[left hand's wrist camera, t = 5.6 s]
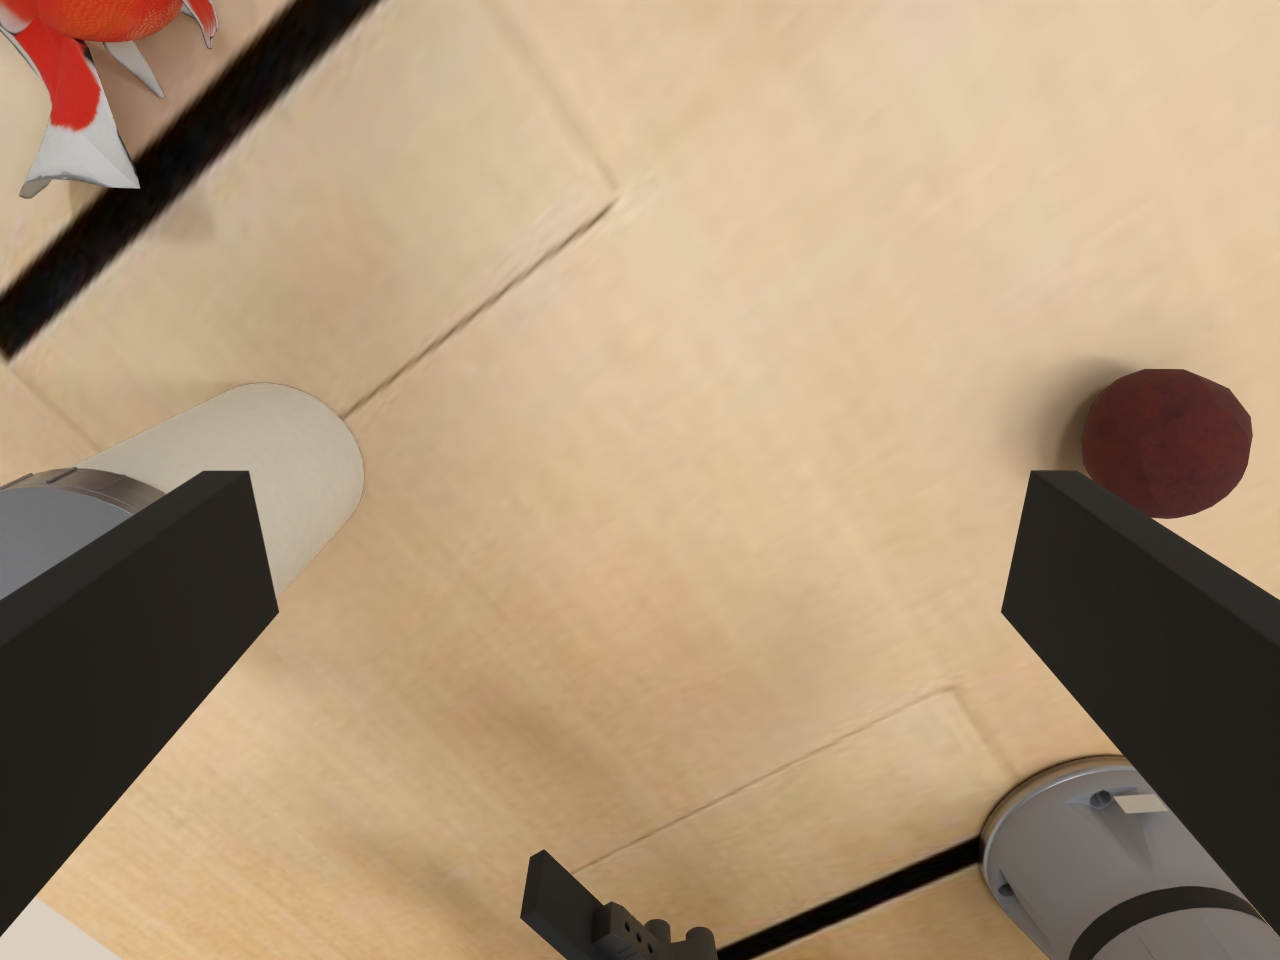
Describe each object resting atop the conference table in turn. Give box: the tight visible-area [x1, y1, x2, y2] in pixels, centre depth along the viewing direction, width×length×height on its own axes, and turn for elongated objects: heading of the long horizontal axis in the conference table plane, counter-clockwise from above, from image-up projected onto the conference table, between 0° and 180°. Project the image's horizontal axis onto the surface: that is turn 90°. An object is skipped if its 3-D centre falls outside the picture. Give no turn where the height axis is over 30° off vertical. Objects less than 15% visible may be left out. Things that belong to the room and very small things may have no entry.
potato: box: [1082, 369, 1253, 519], centre depth 37 cm, size 7×8×7 cm
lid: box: [0, 467, 166, 600], centre depth 28 cm, size 10×10×2 cm
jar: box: [69, 383, 364, 600], centre depth 35 cm, size 10×10×16 cm
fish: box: [0, 0, 219, 199], centre depth 31 cm, size 11×16×10 cm
